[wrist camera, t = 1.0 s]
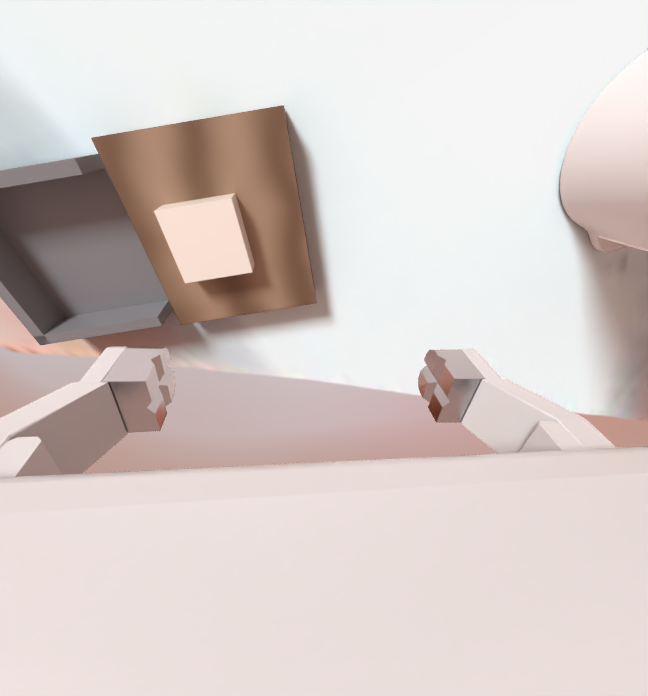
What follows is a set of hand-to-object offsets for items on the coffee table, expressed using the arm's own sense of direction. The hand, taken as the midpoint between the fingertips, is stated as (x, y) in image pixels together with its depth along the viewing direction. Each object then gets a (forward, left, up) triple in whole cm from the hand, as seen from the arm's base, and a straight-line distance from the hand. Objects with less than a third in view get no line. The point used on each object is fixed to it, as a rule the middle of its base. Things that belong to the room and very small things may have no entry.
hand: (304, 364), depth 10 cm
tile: (+8, +1, -21) cm, 22 cm away
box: (+21, +1, -23) cm, 31 cm away
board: (+7, +1, -23) cm, 24 cm away
